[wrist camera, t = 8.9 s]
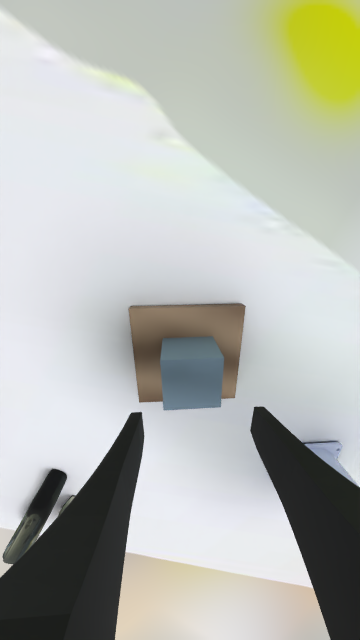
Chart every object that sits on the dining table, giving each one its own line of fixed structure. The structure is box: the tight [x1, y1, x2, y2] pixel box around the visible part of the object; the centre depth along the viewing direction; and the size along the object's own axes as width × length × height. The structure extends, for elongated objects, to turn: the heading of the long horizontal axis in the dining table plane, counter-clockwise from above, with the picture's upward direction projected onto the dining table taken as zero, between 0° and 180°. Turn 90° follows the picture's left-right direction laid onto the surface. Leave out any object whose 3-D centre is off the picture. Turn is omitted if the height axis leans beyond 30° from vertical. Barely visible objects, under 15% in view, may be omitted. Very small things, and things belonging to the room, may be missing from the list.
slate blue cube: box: [160, 336, 224, 410], centre depth 16 cm, size 5×5×4 cm
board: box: [129, 304, 245, 402], centre depth 17 cm, size 11×11×4 cm
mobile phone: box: [3, 470, 67, 564], centre depth 24 cm, size 5×3×15 cm
